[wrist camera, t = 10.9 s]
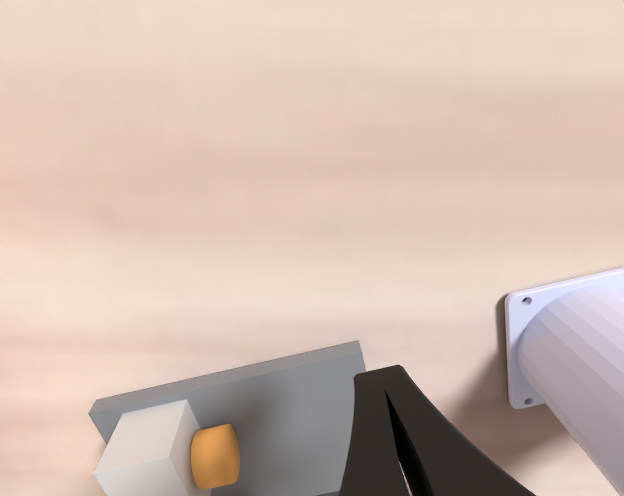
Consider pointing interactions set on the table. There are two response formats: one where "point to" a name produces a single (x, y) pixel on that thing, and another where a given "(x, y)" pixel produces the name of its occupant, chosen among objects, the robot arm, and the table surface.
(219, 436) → the orange button
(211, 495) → the control panel
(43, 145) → the table surface
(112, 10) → the table surface
